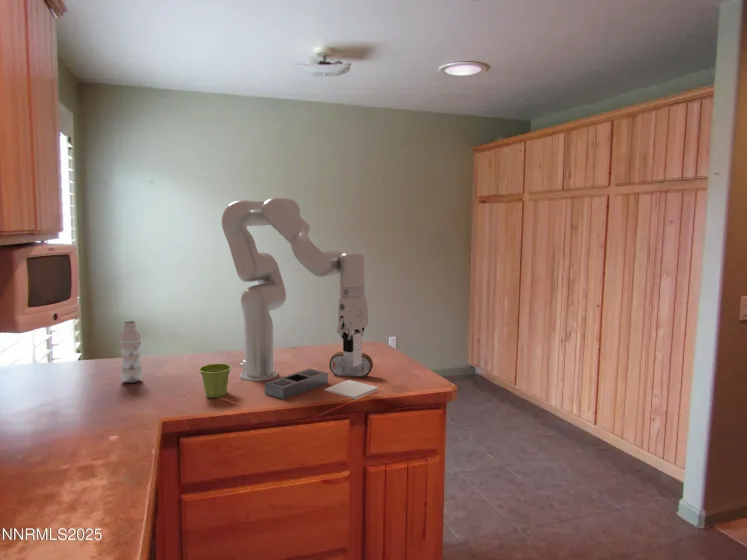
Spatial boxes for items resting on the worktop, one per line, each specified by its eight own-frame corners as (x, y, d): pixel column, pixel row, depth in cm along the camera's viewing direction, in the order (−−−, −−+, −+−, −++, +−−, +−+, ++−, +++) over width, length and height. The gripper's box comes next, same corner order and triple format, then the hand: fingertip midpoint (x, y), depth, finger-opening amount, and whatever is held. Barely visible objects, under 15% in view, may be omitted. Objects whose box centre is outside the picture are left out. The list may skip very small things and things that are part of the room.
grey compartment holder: (264, 395, 165) (264, 382, 164) (309, 380, 181) (309, 368, 180) (283, 401, 160) (283, 387, 160) (327, 384, 176) (327, 372, 176)
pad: (324, 391, 169) (324, 388, 169) (348, 382, 178) (348, 379, 178) (354, 400, 162) (354, 396, 162) (377, 390, 171) (377, 387, 171)
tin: (372, 376, 186) (373, 352, 185) (371, 378, 183) (372, 354, 182) (330, 374, 188) (330, 350, 187) (328, 376, 185) (328, 353, 184)
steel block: (343, 364, 169) (343, 333, 167) (351, 361, 172) (351, 331, 171) (353, 366, 166) (353, 335, 165) (361, 364, 169) (361, 332, 168)
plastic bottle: (134, 377, 181) (131, 319, 178) (147, 381, 177) (144, 321, 175) (116, 382, 175) (113, 322, 173) (129, 386, 172) (126, 325, 170)
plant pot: (211, 402, 158) (210, 374, 157) (193, 395, 164) (193, 367, 163) (237, 394, 165) (237, 367, 164) (220, 388, 171) (219, 361, 170)
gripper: (344, 296, 157) (344, 357, 160) (378, 290, 171) (377, 346, 173) (325, 294, 162) (325, 353, 164) (359, 288, 175) (359, 343, 177)
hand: (352, 349), depth 168 cm, fingers closed on steel block, 4 cm apart
